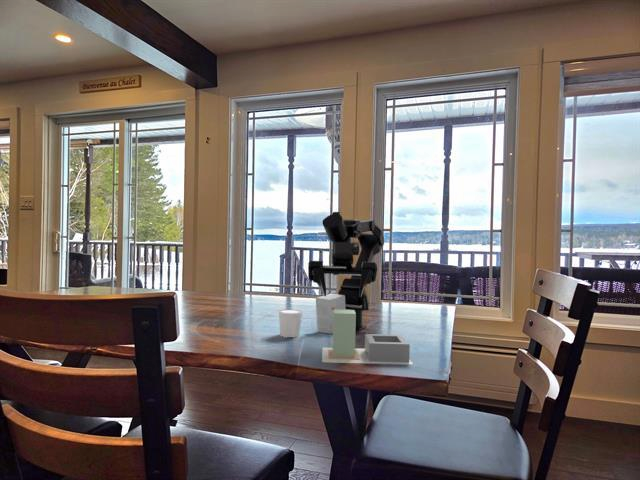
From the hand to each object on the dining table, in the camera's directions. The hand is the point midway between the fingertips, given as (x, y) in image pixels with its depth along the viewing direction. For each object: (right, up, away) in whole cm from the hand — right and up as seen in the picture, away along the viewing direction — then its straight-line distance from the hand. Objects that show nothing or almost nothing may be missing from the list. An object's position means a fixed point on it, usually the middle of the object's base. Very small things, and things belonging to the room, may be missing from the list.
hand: (342, 295), depth 103 cm
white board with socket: (+5, -14, -10) cm, 18 cm away
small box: (-2, -13, +19) cm, 23 cm away
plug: (0, -12, -10) cm, 16 cm away
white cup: (-15, -13, +12) cm, 24 cm away
